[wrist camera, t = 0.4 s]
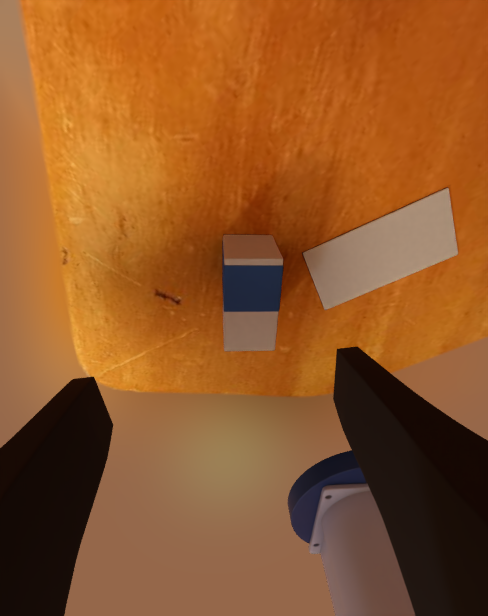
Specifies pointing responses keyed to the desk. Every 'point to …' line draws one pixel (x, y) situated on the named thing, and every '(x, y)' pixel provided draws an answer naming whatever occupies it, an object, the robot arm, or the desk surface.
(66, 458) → the robot arm
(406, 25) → the desk surface
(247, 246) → the eraser
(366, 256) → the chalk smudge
